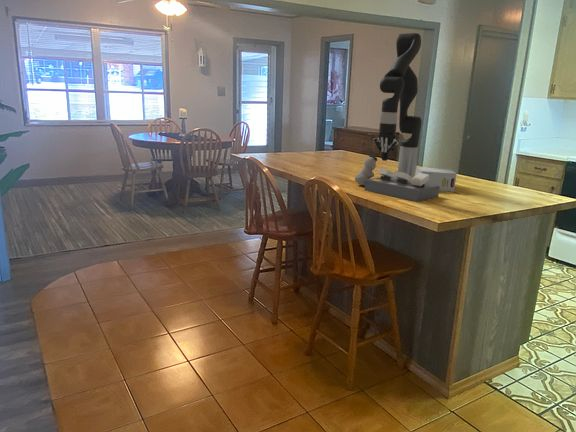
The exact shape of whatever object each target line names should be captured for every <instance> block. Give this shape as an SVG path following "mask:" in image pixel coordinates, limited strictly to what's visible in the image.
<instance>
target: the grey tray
mask: <svg viewBox="0 0 576 432" xmlns="http://www.w3.org/2000/svg"><path fill="white" fill-rule="evenodd" d="M439 188H440V186H438V185H433V184H428V183H424V184H423V185H422V186H417V185H412V184H411V181H407V180H402V179H399V178H397V177H395V176H394V178H391V177H386V176H383V175H381V176H378V177H372V178H370V179H366V180H365V186H364V191H367V192H372V193H376V194H380V195H385V196H390V197H393V198H397V199H402V200H407V201H411V202H416V203H417V202H422V201H425V200H429V199H433V198H434V197H435V198H438V197H439V193H440V191H439Z"/></svg>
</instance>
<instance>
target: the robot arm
mask: <svg viewBox="0 0 576 432" xmlns="http://www.w3.org/2000/svg"><path fill="white" fill-rule="evenodd" d="M395 47H396V56H397V58H396V59H395V60H394V61H393V63H392V64H391V67H390V69H389V70H388V71H387V72H386V73H385V74H384V75H383V77H382V78H381V79H380V82H379V89H380V92H382V93H385V94H393V95H392V97H388V98H384V99H383V100H382V104H381V113H380V119H379V130H378V132H379V134H378V137H377V138H375V139H374V140H373V142H374V144H375V146H376V148H377V149H378V151H380V152H381V160H382V161H383V162H385V161H388V160H389V155H390V153H391V152H392V153H393V151H394V150H395V149H396V148H397V147H398V146H399V145H400V147H399V153H398V154H399V155H398V164H397V171H398V172H404V173H406V174H408V175H410V176H412V177H411V179H412V178H413V177H414V176H416V170H417V163H418V161H417V159H418V158H417V157H418V150H419V148H418V147H419V144H420V143H419V142H420V136H421V135H420V134H421V129H422V124H423V123H422V118H421V116H417V115H416V116H415V115H408V110H409V107H410V106H411V103H413V101H414V100H415V98H416V96H417V94H418V93H419V92H418V91H419V90H418V85H419V84H418V82H419V81H418V77H417V75H416V73H415V72H414V70H413V69H412V68H411V66H410V64H411V63H412V62H413V60H415V57H416V56H417V55H418V54H419V51H420V49H421V47H422V36H421V34H419V33H417V32H410V33H409V32H408V33H407V32H406V33H400V34H397V37H396V45H395ZM398 108H399V109H398ZM398 110H399V119H398ZM398 121H399V122H398ZM397 124H398V125H399V131H400V133H402V134H406V135H407V134H409V135H411V136H410V137H409V138H407V139H403V140H401V141H398V140H397V139H396V134H397V133H396V132H397Z"/></svg>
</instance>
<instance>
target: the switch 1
mask: <svg viewBox="0 0 576 432" xmlns="http://www.w3.org/2000/svg"><path fill="white" fill-rule="evenodd" d="M377 174H379V175H381V176H386V177H391V178H394V177H395V176H394V172H393V171H392V170H390V169H387V168H381V167H378V169H377Z"/></svg>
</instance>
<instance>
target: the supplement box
mask: <svg viewBox="0 0 576 432" xmlns="http://www.w3.org/2000/svg"><path fill="white" fill-rule="evenodd" d="M418 173H423V174H429V180H428V181H427V182H425V183H428V184H433V185H438V186H440V188H439V192H440V191H441V192H442V191H443V192H455V188H456V180H457V172H456V171H454V170H453V169H451V168H436V167H424V166H423V167H421V166H416V173H415V176H416V175H417V174H418Z"/></svg>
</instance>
